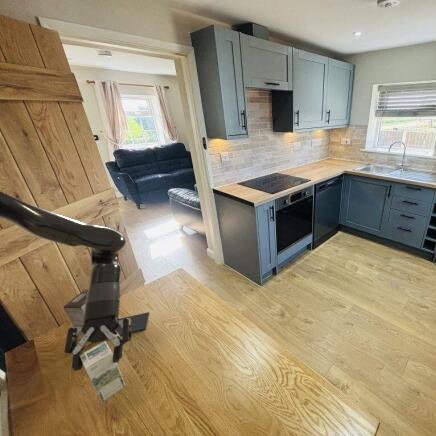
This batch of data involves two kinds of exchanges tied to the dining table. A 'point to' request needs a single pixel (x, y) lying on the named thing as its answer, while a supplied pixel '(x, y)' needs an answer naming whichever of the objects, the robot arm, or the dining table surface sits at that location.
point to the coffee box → (77, 310)
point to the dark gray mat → (133, 324)
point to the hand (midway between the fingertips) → (97, 365)
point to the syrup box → (102, 371)
